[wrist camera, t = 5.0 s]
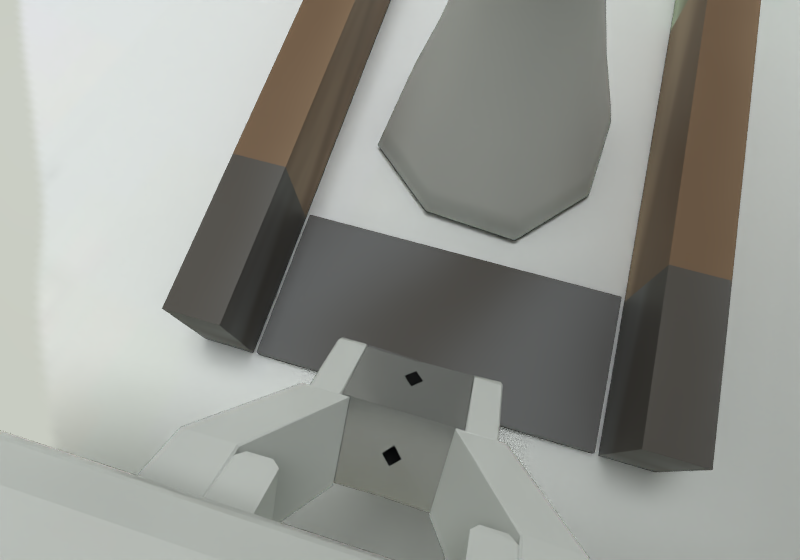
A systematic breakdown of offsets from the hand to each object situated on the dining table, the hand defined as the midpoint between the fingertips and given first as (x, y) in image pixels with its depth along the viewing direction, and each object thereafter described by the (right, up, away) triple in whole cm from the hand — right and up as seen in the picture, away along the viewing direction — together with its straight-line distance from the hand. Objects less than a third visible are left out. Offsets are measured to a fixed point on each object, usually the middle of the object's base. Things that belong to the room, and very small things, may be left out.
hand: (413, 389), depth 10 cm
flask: (+3, +7, +9) cm, 11 cm away
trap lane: (+4, +11, +10) cm, 15 cm away
